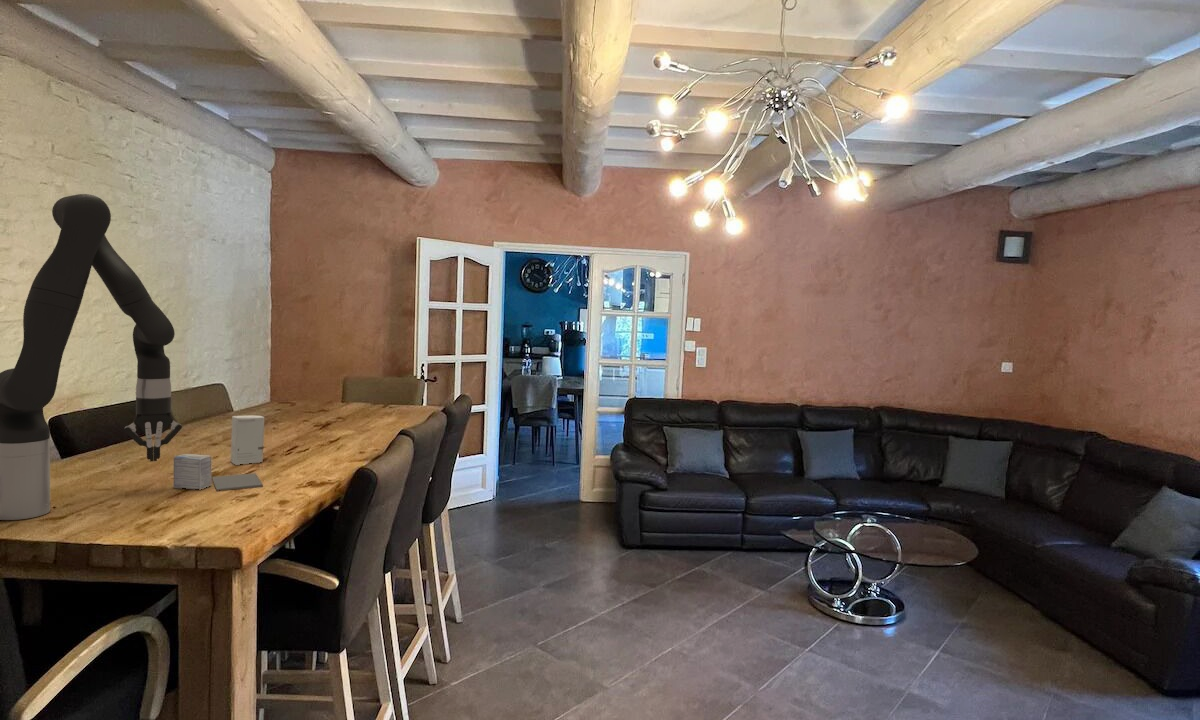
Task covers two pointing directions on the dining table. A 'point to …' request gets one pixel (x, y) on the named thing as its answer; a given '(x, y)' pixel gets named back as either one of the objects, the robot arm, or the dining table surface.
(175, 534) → the dining table surface
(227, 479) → the rubber mat
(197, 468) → the medicine box
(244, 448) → the skincare box
